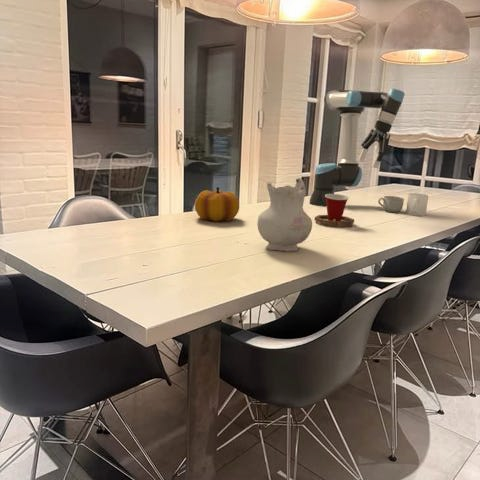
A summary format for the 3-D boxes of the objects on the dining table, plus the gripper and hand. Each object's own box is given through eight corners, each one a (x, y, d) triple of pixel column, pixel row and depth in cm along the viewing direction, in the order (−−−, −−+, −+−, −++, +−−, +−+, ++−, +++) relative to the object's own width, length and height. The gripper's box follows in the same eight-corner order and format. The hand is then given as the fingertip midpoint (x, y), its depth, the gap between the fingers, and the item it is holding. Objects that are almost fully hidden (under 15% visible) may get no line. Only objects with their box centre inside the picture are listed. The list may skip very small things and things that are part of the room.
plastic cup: (327, 223, 216) (329, 197, 213) (319, 218, 226) (321, 193, 223) (350, 223, 218) (352, 197, 215) (341, 219, 228) (343, 194, 225)
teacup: (400, 210, 269) (401, 196, 267) (404, 214, 259) (406, 199, 257) (374, 209, 271) (376, 195, 269) (378, 212, 260) (380, 197, 258)
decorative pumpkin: (248, 222, 217) (250, 189, 214) (205, 225, 206) (206, 190, 202) (226, 214, 234) (228, 183, 230) (185, 216, 222) (186, 184, 219)
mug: (423, 217, 251) (426, 197, 249) (403, 215, 255) (406, 195, 253) (426, 213, 263) (429, 194, 260) (407, 211, 267) (409, 192, 265)
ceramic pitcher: (270, 240, 188) (269, 177, 183) (319, 243, 181) (319, 177, 175) (250, 253, 168) (248, 182, 163) (304, 257, 161) (304, 183, 156)
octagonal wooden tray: (309, 220, 227) (309, 213, 226) (340, 219, 233) (341, 212, 232) (326, 228, 212) (327, 220, 211) (359, 227, 217) (360, 219, 216)
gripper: (406, 128, 219) (387, 172, 225) (377, 120, 241) (361, 161, 247) (393, 123, 216) (374, 168, 222) (365, 116, 239) (349, 157, 244)
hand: (367, 164), depth 235 cm, fingers open, 13 cm apart
